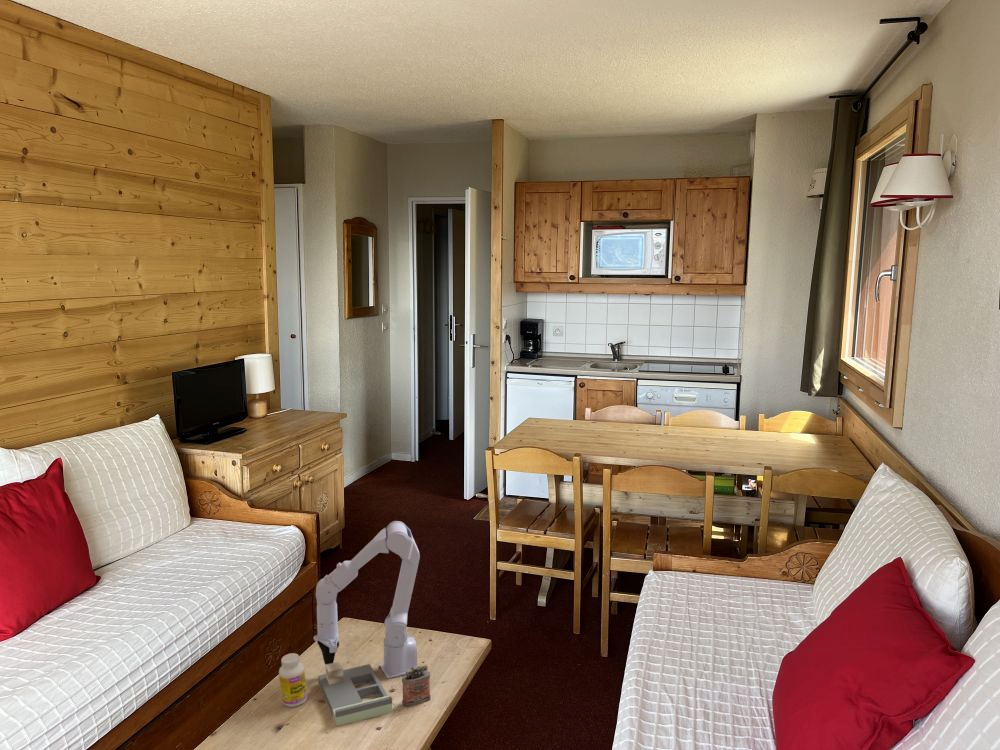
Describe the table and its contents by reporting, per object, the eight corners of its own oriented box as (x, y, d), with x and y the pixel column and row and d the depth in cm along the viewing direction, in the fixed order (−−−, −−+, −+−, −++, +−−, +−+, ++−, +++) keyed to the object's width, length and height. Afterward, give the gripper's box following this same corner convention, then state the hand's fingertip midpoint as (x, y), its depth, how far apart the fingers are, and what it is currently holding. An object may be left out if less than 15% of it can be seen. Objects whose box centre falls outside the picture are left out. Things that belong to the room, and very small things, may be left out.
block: (339, 674, 216) (339, 661, 215) (343, 681, 212) (342, 668, 212) (325, 677, 214) (325, 664, 214) (329, 684, 211) (328, 671, 210)
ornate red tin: (404, 708, 204) (404, 674, 202) (400, 702, 207) (399, 668, 205) (432, 700, 208) (432, 666, 206) (427, 694, 210) (427, 660, 209)
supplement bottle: (290, 711, 202) (285, 668, 200) (277, 701, 207) (272, 659, 204) (312, 699, 207) (307, 656, 205) (299, 689, 212) (294, 648, 209)
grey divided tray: (369, 671, 222) (369, 659, 221) (392, 712, 202) (392, 698, 202) (318, 683, 216) (318, 670, 215) (336, 726, 196) (336, 712, 195)
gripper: (308, 612, 222) (309, 655, 224) (318, 634, 209) (320, 680, 211) (332, 607, 225) (333, 650, 227) (344, 629, 212) (345, 674, 214)
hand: (328, 664), depth 219 cm, fingers closed
